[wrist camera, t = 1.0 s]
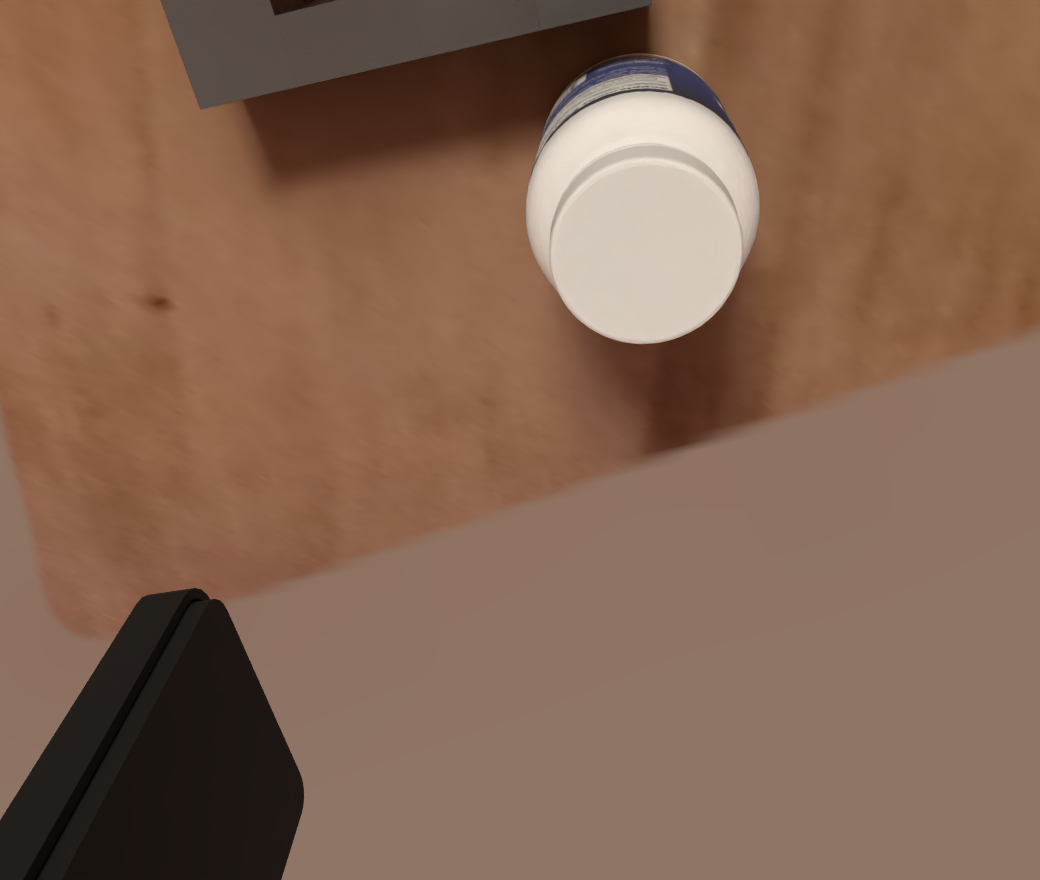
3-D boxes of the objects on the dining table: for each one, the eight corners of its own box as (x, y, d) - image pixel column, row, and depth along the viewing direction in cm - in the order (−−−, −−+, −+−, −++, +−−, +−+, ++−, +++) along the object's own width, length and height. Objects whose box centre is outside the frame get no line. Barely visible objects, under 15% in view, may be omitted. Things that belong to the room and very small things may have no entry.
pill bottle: (747, 210, 29) (802, 343, 21) (572, 258, 30) (557, 403, 22) (706, 22, 27) (750, 85, 18) (519, 83, 28) (478, 169, 19)
